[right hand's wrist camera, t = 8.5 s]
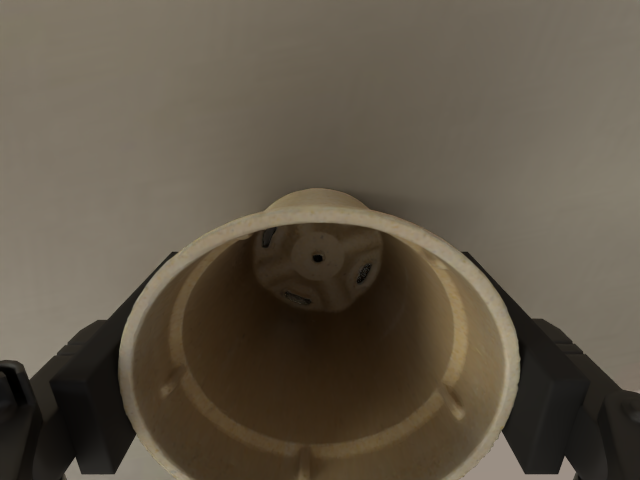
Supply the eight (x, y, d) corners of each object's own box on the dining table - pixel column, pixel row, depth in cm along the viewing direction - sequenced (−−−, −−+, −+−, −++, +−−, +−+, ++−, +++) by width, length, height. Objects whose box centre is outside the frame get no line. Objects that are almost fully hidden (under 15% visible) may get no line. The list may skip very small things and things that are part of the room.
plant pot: (434, 147, 15) (571, 207, 7) (412, 337, 18) (485, 526, 10) (205, 147, 15) (69, 208, 7) (227, 338, 18) (154, 526, 10)
